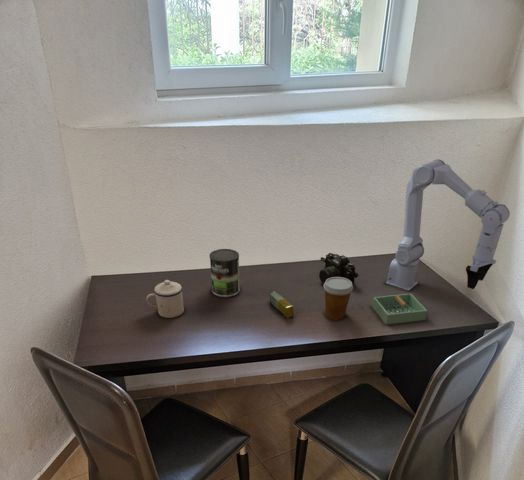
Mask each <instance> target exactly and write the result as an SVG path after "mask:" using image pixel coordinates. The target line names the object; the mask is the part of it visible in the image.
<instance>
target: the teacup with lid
mask: <svg viewBox="0 0 524 480" xmlns="http://www.w3.org/2000/svg"><path fill="white" fill-rule="evenodd" d="M151 297H155V301H156V304H155V303H152V302H151V301H150V298H151ZM146 303H147V304H148V306H150V307H152V308H157V313H158V315H159V316H160V317H163V318H167V319H172V318H177V317H179V316H181V315H182V314H183V313H184V311H185V308H184V299H183V286H182V285H181V284H180V283H178V282H176V281H171V280H170V279H164V281H163V282H160V283H158V284H157V285H155V287H154V290H153V293H149V294H147V296H146Z"/></svg>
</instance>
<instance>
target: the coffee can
mask: <svg viewBox="0 0 524 480" xmlns="http://www.w3.org/2000/svg"><path fill="white" fill-rule="evenodd" d="M209 263H210V277H211V292H212V294H213V295H214V296H217V297H221V298H229V297H230V298H231V297H234V296H236V295H238V294H239V293H240V290H241V289H240V288H241V287H240V254H239V252H238V251H237V250H234V249H232V248H219V249H215V250H212V251H211V252H210V253H209Z"/></svg>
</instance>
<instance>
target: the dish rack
mask: <svg viewBox="0 0 524 480" xmlns="http://www.w3.org/2000/svg"><path fill="white" fill-rule="evenodd" d="M397 295H398V296H395V299H396V302H395V306H391V304H392V300H391V302H390V307H387V303H388V300H387V302H386V307H384V308H385V310H386V309H389V310H390V312H391V313H396V312H397V313H400V309H401V312H405V311H404V307H405V309H406V310H407V312H410V309H409V308H408V307H407V306H406V303H405V302H404V299H403V300H402V299H401V298H400V297H399V295H400V294H397ZM397 301H398V302H399V303H398V306H397ZM399 304H400V306H399ZM393 308H394V309H395V312H393V311H392V310H391V309H393ZM396 308H400V309H399V311H398V310H397V309H396ZM386 311H387V310H386ZM411 311H413V308H412V310H411Z"/></svg>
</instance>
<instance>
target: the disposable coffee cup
mask: <svg viewBox="0 0 524 480" xmlns="http://www.w3.org/2000/svg"><path fill="white" fill-rule="evenodd" d="M322 285H323V284H322ZM323 289H324V298H325V299H324V301H325V302H324V304H325V317H326V318H329V319H330V320H335V321H336V320H341V319H342V318H344V317H345V316H346V312H347V308H348V305H349V301H350V297H351V293H352V292H353V290H354V286H353V285H352V282H351V281H350V280H348V279H346V278H343V277H331V278H329V279H327V280H326V281H325V283H324V285H323Z"/></svg>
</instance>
